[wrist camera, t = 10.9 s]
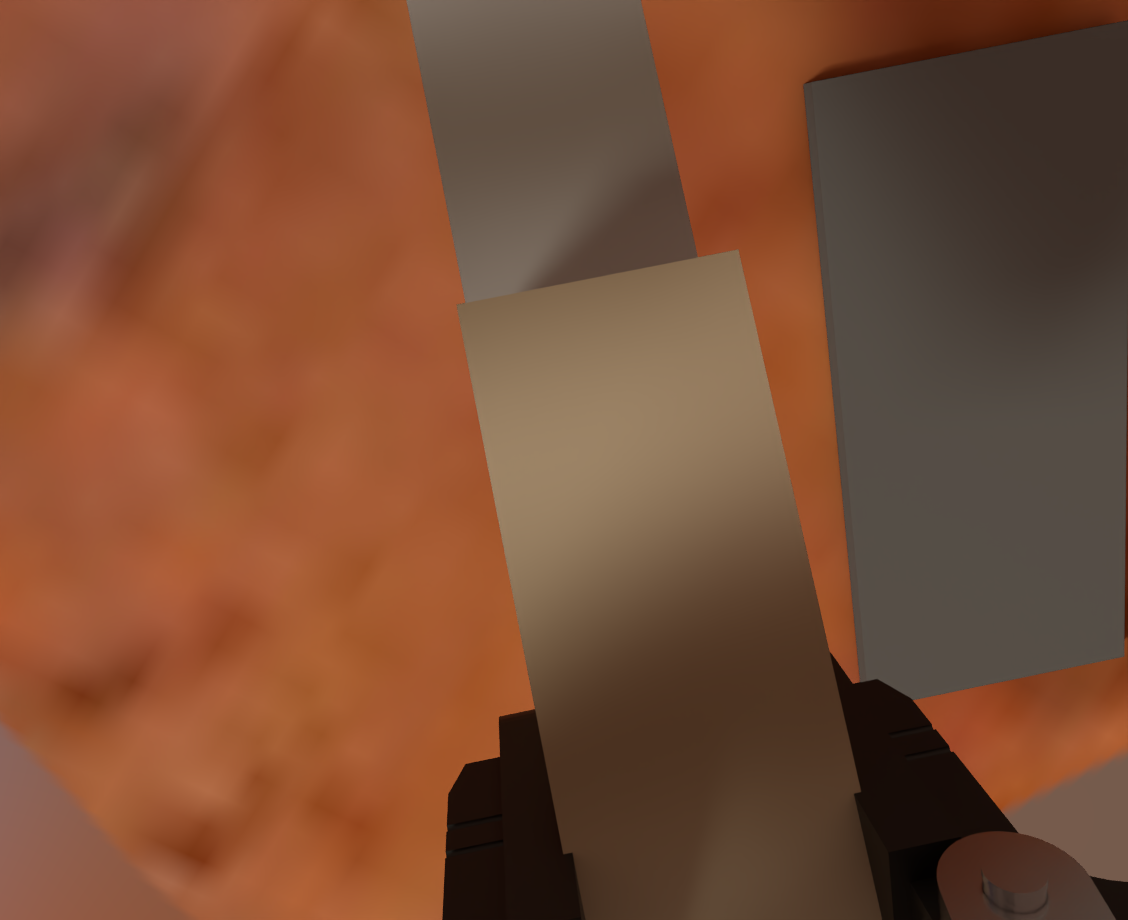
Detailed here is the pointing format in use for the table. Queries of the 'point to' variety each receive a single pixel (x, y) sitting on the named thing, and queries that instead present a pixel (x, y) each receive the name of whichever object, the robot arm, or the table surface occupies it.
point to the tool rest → (979, 354)
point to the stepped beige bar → (637, 482)
